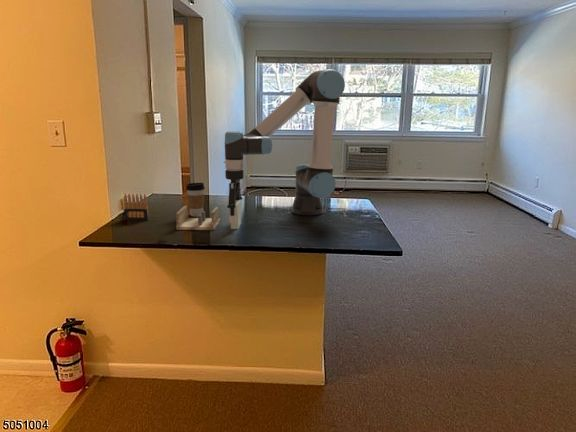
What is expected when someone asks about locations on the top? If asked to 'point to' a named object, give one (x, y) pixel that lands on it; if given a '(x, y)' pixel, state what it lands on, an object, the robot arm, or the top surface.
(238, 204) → the beige rectangular block
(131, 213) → the ammunition clip
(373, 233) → the top surface
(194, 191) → the coffee cup
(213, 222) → the wooden shelf with pegs
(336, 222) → the top surface
